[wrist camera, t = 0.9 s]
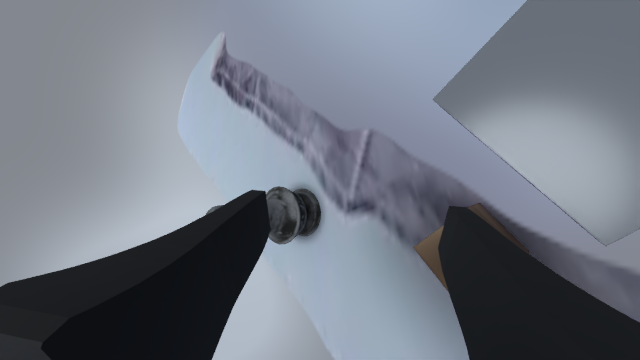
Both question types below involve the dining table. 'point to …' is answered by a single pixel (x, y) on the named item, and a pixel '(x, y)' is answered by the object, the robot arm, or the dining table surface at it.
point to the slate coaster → (563, 106)
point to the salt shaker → (290, 213)
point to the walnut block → (431, 243)
